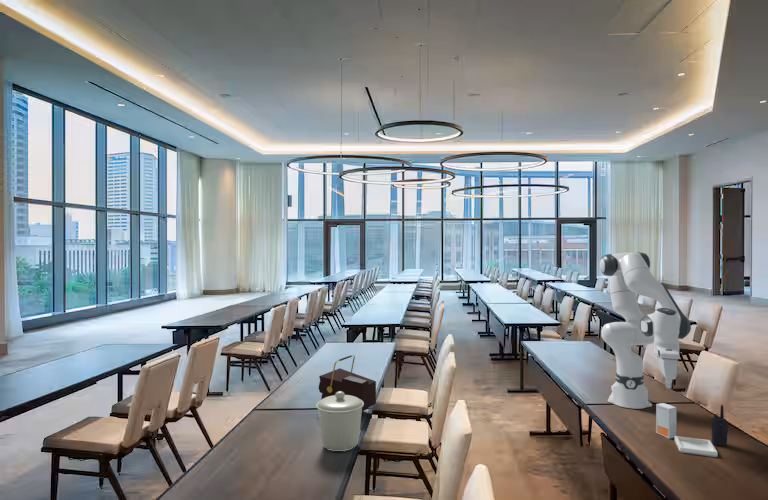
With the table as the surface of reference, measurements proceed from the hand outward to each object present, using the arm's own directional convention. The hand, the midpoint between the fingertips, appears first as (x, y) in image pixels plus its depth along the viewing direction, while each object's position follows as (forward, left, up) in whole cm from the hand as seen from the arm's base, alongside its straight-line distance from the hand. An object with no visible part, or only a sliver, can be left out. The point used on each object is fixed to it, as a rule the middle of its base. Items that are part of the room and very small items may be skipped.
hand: (666, 384), depth 196 cm
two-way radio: (+3, +17, -21) cm, 27 cm away
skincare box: (0, 0, -21) cm, 21 cm away
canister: (+55, -117, -21) cm, 131 cm away
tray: (+10, +8, -20) cm, 24 cm away
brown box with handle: (+20, -130, -21) cm, 133 cm away
